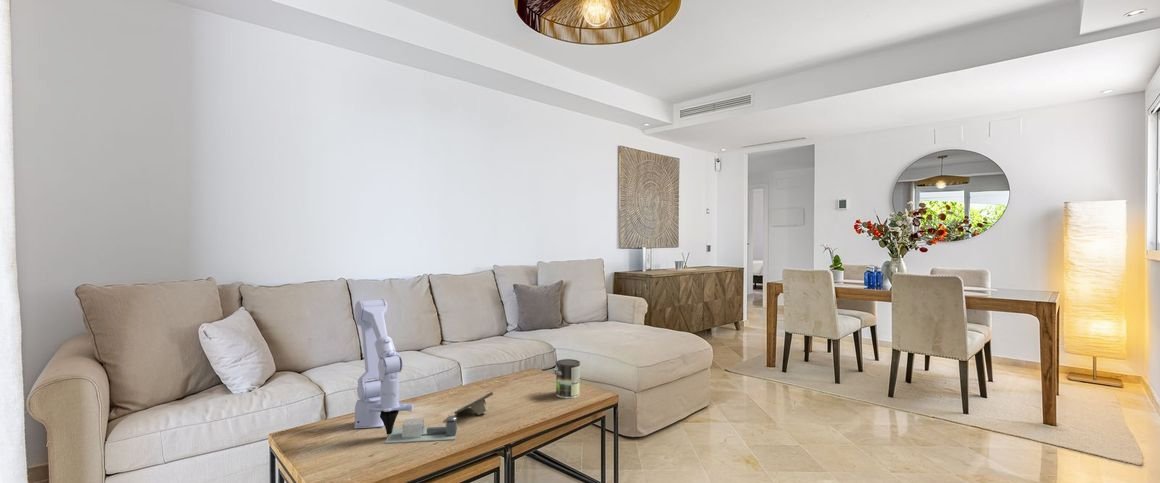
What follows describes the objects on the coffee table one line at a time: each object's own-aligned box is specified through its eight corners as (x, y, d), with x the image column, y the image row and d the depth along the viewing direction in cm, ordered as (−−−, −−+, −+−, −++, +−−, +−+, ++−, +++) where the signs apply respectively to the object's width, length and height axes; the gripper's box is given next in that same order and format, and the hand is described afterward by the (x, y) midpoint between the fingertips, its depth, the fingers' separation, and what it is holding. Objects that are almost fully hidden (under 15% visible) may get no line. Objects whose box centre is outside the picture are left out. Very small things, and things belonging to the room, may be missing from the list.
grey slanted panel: (461, 435, 173) (493, 407, 174) (446, 415, 174) (478, 388, 175) (474, 425, 189) (503, 399, 190) (461, 407, 191) (490, 382, 191)
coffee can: (559, 399, 200) (559, 365, 200) (553, 392, 210) (553, 359, 210) (582, 397, 203) (583, 364, 203) (575, 390, 213) (576, 358, 213)
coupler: (425, 437, 160) (426, 421, 160) (428, 431, 165) (428, 416, 165) (455, 435, 161) (455, 420, 161) (457, 430, 166) (457, 414, 166)
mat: (384, 443, 155) (384, 442, 155) (393, 429, 167) (393, 428, 167) (454, 440, 159) (454, 438, 159) (458, 426, 170) (458, 425, 170)
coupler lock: (402, 438, 158) (402, 424, 158) (405, 432, 163) (405, 419, 163) (421, 437, 159) (421, 423, 159) (423, 431, 164) (423, 418, 164)
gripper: (363, 397, 155) (362, 439, 155) (410, 395, 157) (409, 436, 157) (369, 390, 162) (369, 430, 162) (414, 388, 164) (413, 428, 164)
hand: (389, 433), depth 160 cm, fingers closed
